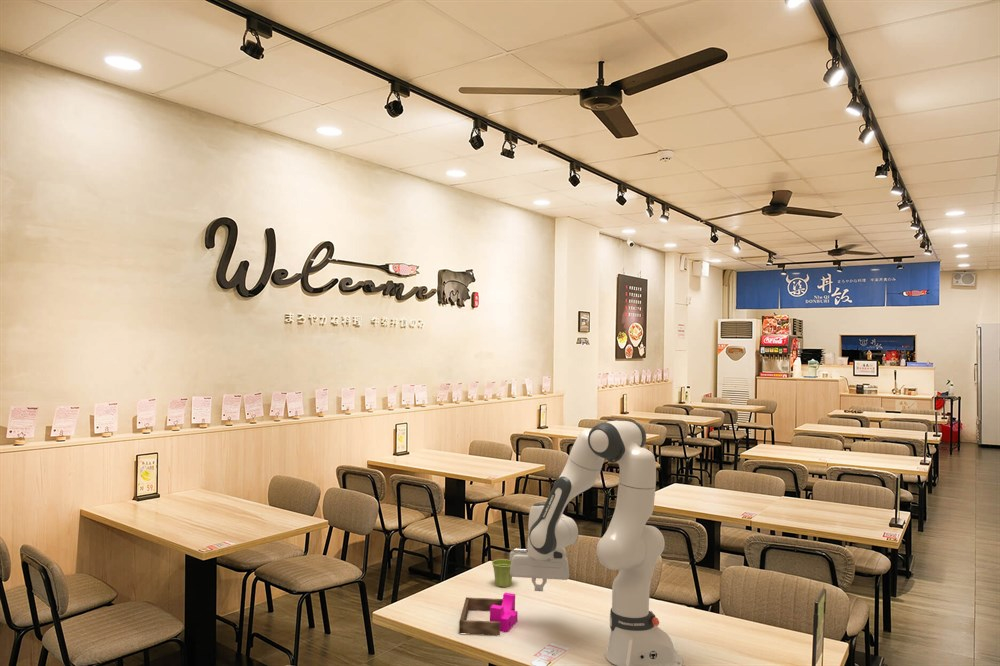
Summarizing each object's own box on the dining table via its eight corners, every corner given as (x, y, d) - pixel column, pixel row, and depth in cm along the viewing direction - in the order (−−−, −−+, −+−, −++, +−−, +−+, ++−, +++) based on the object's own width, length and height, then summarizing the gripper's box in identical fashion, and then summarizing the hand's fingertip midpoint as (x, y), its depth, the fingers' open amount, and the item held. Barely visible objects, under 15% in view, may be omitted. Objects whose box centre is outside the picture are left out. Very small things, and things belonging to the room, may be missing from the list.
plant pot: (505, 579, 270) (505, 557, 270) (519, 585, 263) (520, 563, 263) (486, 583, 264) (487, 561, 265) (501, 590, 257) (501, 568, 257)
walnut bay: (502, 610, 237) (502, 598, 237) (499, 635, 216) (499, 623, 216) (465, 608, 238) (466, 597, 238) (459, 633, 217) (459, 621, 217)
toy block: (507, 633, 218) (507, 610, 219) (489, 630, 221) (490, 607, 221) (521, 616, 232) (522, 595, 233) (504, 613, 235) (505, 592, 235)
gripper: (509, 551, 224) (507, 592, 224) (570, 554, 223) (568, 595, 223) (510, 545, 231) (508, 585, 230) (569, 548, 229) (567, 588, 229)
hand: (538, 590), depth 227 cm, fingers closed
